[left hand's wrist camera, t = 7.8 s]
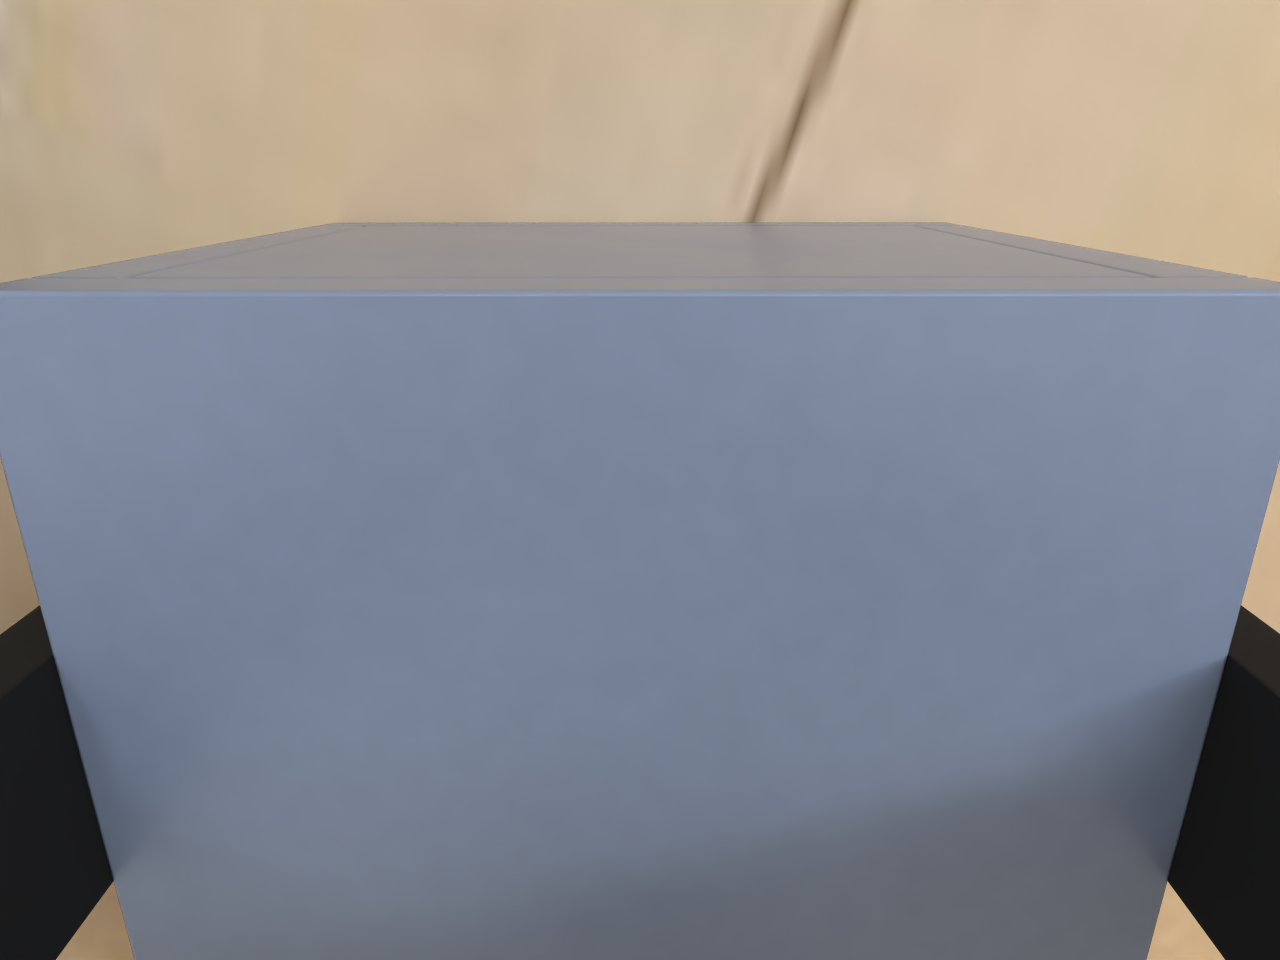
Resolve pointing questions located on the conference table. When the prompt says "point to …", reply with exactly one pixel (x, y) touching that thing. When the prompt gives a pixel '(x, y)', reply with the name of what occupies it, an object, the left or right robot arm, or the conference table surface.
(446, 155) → the conference table surface
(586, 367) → the cabinet
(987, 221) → the conference table surface
